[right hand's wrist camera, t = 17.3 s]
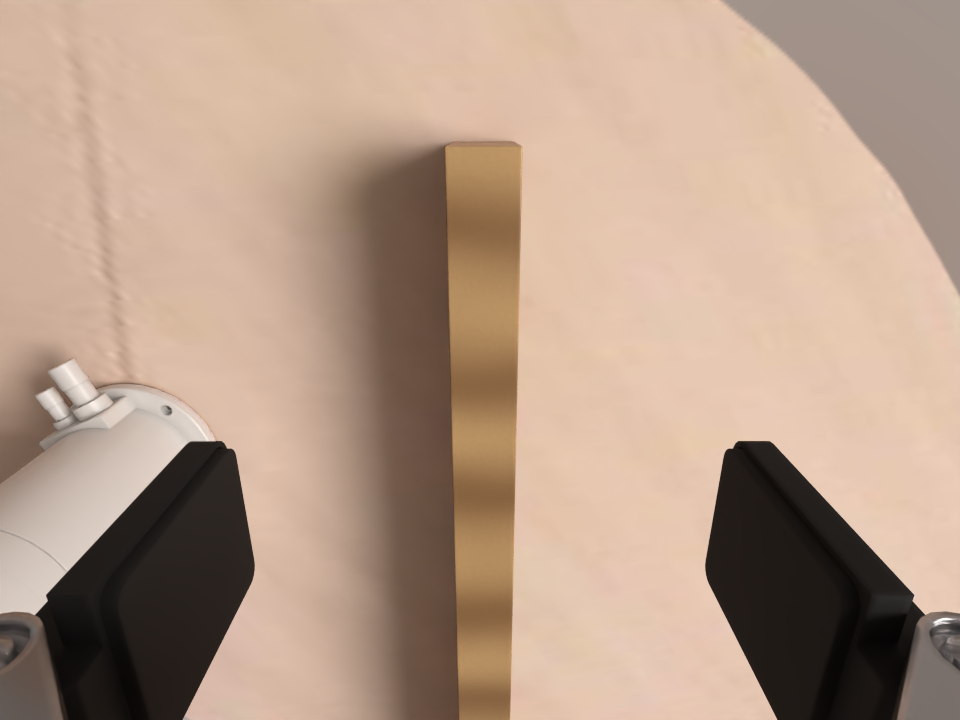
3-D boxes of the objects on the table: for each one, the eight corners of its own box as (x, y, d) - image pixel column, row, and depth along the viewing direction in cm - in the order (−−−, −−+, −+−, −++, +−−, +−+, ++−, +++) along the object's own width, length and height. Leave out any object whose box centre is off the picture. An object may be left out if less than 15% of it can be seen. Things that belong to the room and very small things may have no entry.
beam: (452, 142, 39) (444, 146, 31) (515, 141, 39) (522, 145, 31) (465, 785, 63) (462, 878, 55) (503, 785, 63) (506, 879, 55)
